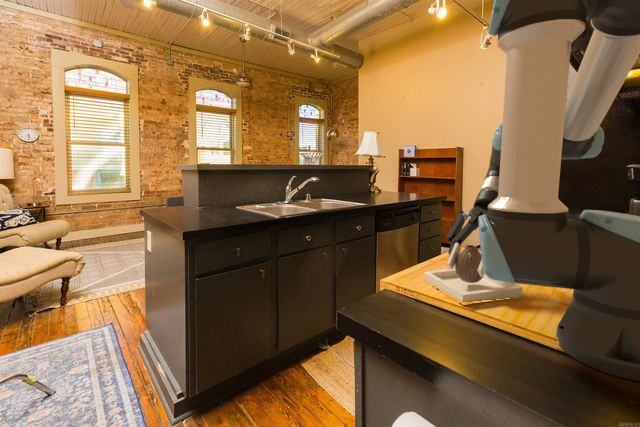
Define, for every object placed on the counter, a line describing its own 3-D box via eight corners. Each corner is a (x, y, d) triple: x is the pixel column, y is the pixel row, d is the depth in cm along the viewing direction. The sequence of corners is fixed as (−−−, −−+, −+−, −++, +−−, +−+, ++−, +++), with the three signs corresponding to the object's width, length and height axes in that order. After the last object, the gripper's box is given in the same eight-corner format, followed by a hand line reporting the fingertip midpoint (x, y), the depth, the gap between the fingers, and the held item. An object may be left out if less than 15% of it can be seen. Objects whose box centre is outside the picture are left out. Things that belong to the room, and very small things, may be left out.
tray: (521, 297, 75) (522, 287, 75) (462, 305, 72) (462, 295, 72) (474, 274, 91) (475, 266, 90) (423, 280, 87) (424, 271, 87)
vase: (450, 280, 81) (451, 246, 79) (460, 273, 86) (462, 241, 84) (479, 287, 76) (481, 251, 75) (488, 279, 81) (490, 245, 80)
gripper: (537, 209, 82) (512, 288, 73) (460, 203, 96) (431, 269, 87) (533, 190, 77) (505, 271, 69) (453, 186, 91) (422, 254, 83)
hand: (464, 270), depth 78 cm, fingers closed on vase, 7 cm apart
